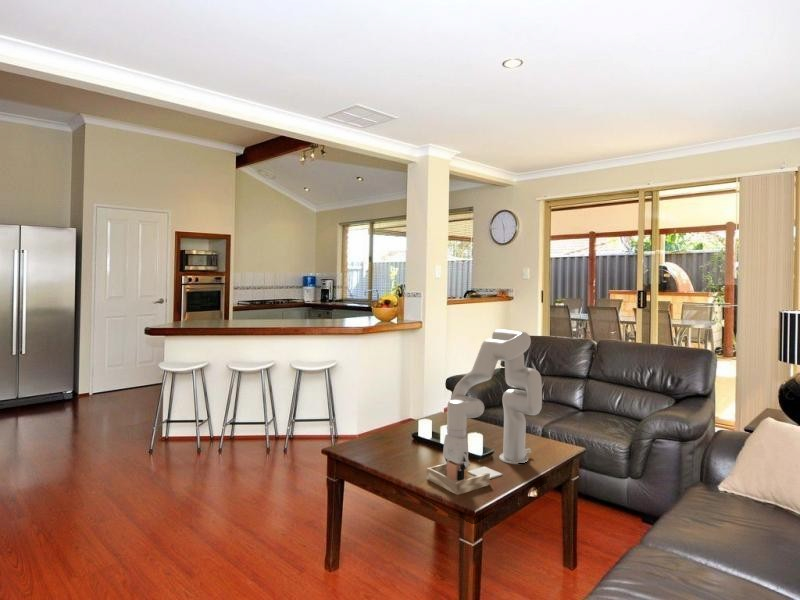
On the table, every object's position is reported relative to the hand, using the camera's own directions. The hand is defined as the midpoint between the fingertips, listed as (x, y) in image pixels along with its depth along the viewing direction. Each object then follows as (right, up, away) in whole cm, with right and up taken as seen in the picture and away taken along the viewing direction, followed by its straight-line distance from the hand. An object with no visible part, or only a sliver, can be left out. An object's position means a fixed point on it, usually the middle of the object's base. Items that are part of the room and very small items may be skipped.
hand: (455, 476), depth 205 cm
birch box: (+1, -2, +1) cm, 3 cm away
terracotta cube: (0, -1, 0) cm, 1 cm away
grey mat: (+13, -2, +10) cm, 16 cm away
